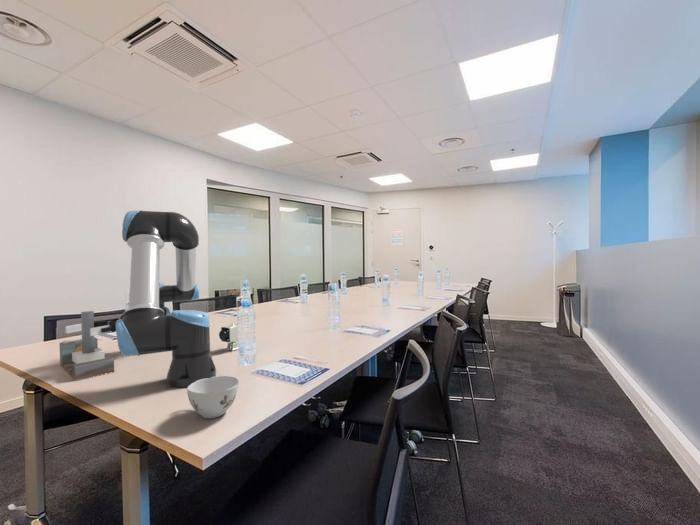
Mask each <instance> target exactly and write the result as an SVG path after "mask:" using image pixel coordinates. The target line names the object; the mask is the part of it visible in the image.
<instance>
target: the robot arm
mask: <svg viewBox="0 0 700 525" xmlns="http://www.w3.org/2000/svg"><path fill="white" fill-rule="evenodd" d="M121 236H122V240H123V241H124V242H126V244H127V246H128V247H129V248H130V249H131V256H130V257H131V261H130V277H129V278H130V279H129V293H128V294H129V295H128V296H129V299H128V309H126V310H125V311H123V313H122V314H121V316H120V317H115V318H109V319H100V320H94V328H90V336H94V337H95V336H98V335H102V334H106V333H114V332H116V334H115V335H116V341H117V346H118V350H119V352H120V354H121V355H122V356H123V357H132V356H133V357H134V356H138V357H139V356H143V355H149V354H157V353H164V352H165V353H167V352H171V353H172V355H171V356H172V357H171V361H170V362H171V363H170V364H169V368H168V372H167V373H166V384H167V386H169V387H175V388H185V387H188V386H189V385H191V384H192V383H194V382H196V381H198V380H201V379H205V378H208V379H209V378H211V377H216V376H217V369H216V365H215V364H214V361H213V358H212V357H213V356H212V355H211V337H210V336H211V335H210V334H211V333H210V332H211V330H210V327H211V324H210V323H211V322H210V316H209V314H208V313H207V312H206V311H202V310H193V309H180V310H179V309H177V310H176V309H175V310H172V311H171V312H170V309H169V307H167V306H165V303H170V302H172V303H173V302H191V301H197V300H199V299H200V285H199V284H196V257H197V256H196V255H197V254H196V253H197V252H196V251H197V248H198V246H199V241H200V240H199V237H200V236H199V233H198V230H197V228H196V226H195V225H194V224H193V222H192V221H191V220H190V219H189V218H187V217H186V216H184V215H182V214H181V213H179V212H175V211H155V210H154V211H151V210H149V211H148V210H141V209H140V210H129V211H127V212H126V213H125V215H124V217H123V221H122V230H121ZM165 243H172V246H173V247H174V248H175V270H176V271H175V275H176V284H175V285H169V284H168V285H165V283H164V281H160V262H161V261H160V257H161V256H160V254H161V253H160V250H162V249H163V248H164V247H165ZM64 328H65V331H64V332H65V334H67V335H68V334H72V333H77V332H82V327H81V323H77V324H72V325H66V326H64Z"/></svg>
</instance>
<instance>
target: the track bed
mask: <svg viewBox="0 0 700 525" xmlns="http://www.w3.org/2000/svg"><path fill="white" fill-rule="evenodd" d="M78 345H82V338H81V339H71V340H63V341H60V342H59V366H60V367H61V368H62V369H63V370H64V371H65V372H66V373H67V374H68V375H69V377H71V378H72V379H73V380H74V381H75V382H76V381H81V379H82V380H84V379H85V378H86V379H89V377H90V378H94V377H98V376H97V375H99V376H102V375H101V374H103V375H106V374H105V373H107V374H110V372H112V373H114V372H115V359H113V358H112V357H111V356H110V357H105V358H104V359H99V360H94V361H89V362H84V363H79V364H76V363H74V362H73V361H72V353H73V352H75V346H78ZM95 348H99V347H98V338H97V337H95V336H94V349H95ZM93 376H94V377H93Z"/></svg>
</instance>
